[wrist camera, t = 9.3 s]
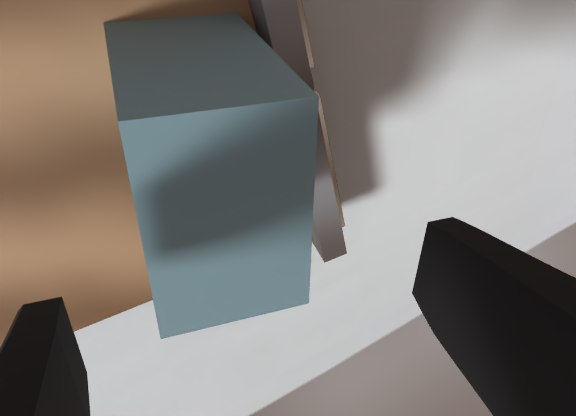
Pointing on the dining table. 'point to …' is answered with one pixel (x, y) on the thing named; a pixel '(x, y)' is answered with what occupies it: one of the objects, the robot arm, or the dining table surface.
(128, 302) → the price rail shelf
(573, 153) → the dining table surface
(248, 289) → the carton
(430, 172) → the dining table surface
